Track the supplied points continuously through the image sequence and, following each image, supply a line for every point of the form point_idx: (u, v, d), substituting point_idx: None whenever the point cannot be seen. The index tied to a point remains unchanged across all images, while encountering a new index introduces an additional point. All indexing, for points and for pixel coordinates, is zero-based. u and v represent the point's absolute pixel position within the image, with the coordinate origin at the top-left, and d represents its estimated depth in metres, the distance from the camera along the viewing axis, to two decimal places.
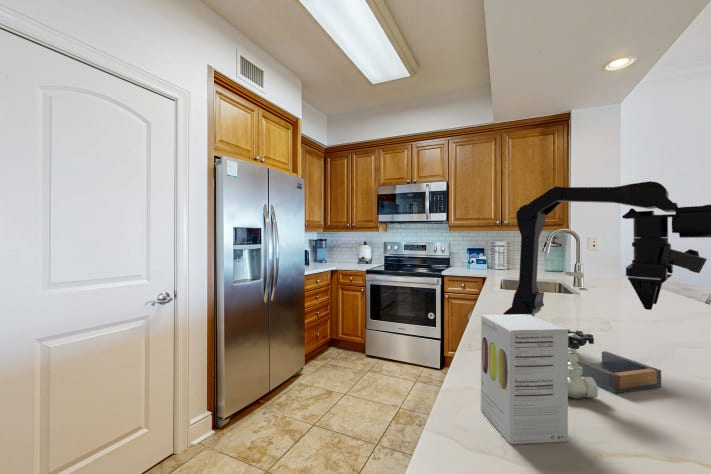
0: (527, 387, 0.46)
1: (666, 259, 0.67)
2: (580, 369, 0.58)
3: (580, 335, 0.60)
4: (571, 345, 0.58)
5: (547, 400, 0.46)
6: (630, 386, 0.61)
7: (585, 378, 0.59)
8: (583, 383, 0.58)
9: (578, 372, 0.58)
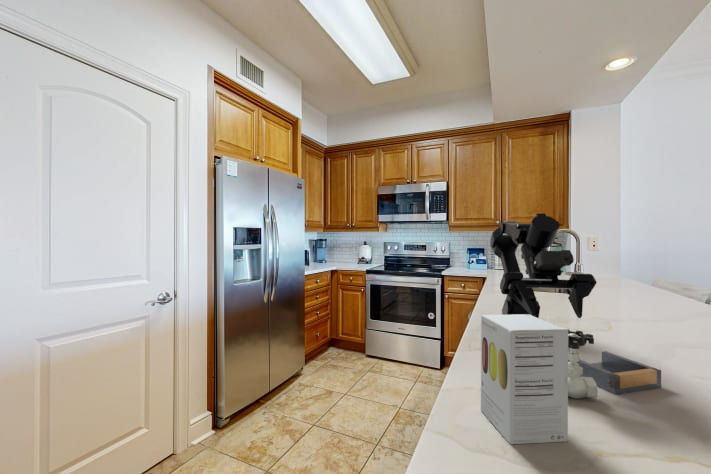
0: (527, 387, 0.46)
1: (532, 267, 0.73)
2: (580, 369, 0.58)
3: (580, 335, 0.60)
4: (571, 345, 0.58)
5: (547, 400, 0.46)
6: (630, 386, 0.61)
7: (585, 378, 0.59)
8: (583, 383, 0.58)
9: (578, 372, 0.58)
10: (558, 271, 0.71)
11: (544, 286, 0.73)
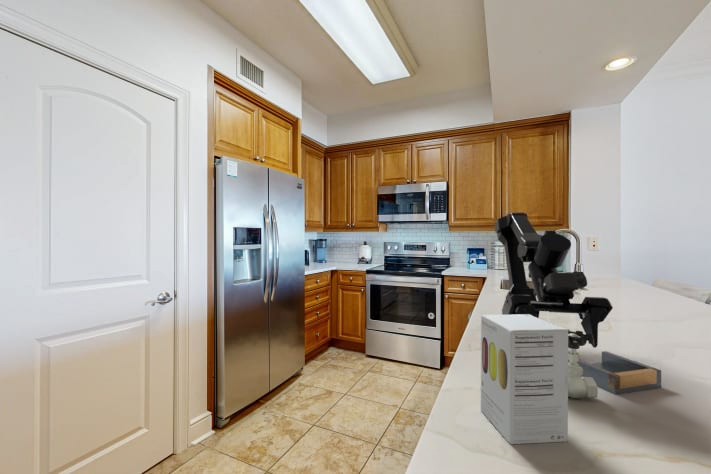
0: (527, 387, 0.46)
1: (541, 290, 0.68)
2: (580, 369, 0.58)
3: (580, 335, 0.60)
4: (571, 345, 0.58)
5: (547, 400, 0.46)
6: (630, 386, 0.61)
7: (585, 378, 0.59)
8: (583, 383, 0.58)
9: (578, 372, 0.58)
10: (570, 294, 0.65)
11: (554, 310, 0.67)
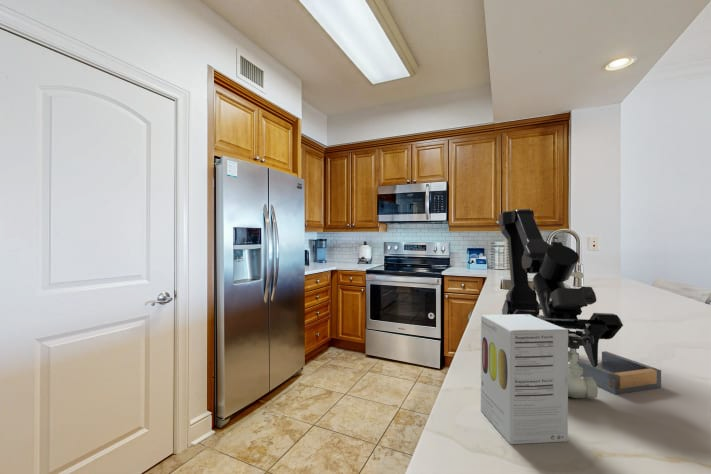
0: (527, 387, 0.46)
1: (547, 305, 0.64)
2: (580, 369, 0.58)
3: (580, 335, 0.60)
4: (571, 345, 0.58)
5: (547, 400, 0.46)
6: (630, 386, 0.61)
7: (585, 378, 0.59)
8: (583, 383, 0.58)
9: (578, 372, 0.58)
10: (578, 310, 0.62)
11: None
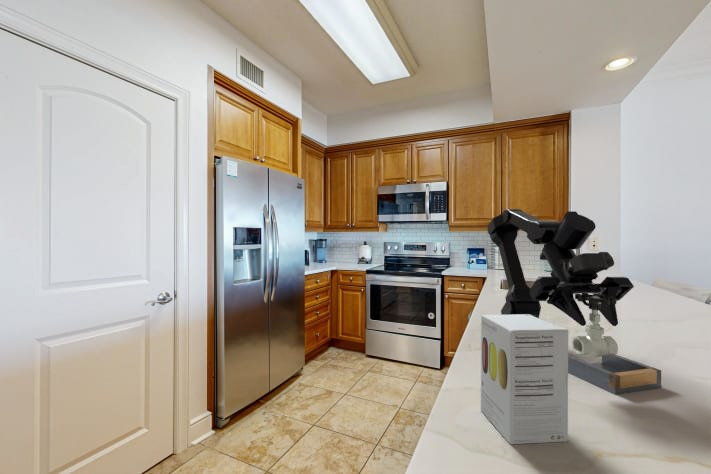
0: (527, 387, 0.46)
1: (566, 271, 0.67)
2: (602, 329, 0.61)
3: (600, 297, 0.63)
4: (596, 306, 0.61)
5: (547, 400, 0.46)
6: (630, 386, 0.61)
7: (605, 337, 0.62)
8: (605, 342, 0.61)
9: (601, 331, 0.61)
10: (594, 275, 0.65)
11: None
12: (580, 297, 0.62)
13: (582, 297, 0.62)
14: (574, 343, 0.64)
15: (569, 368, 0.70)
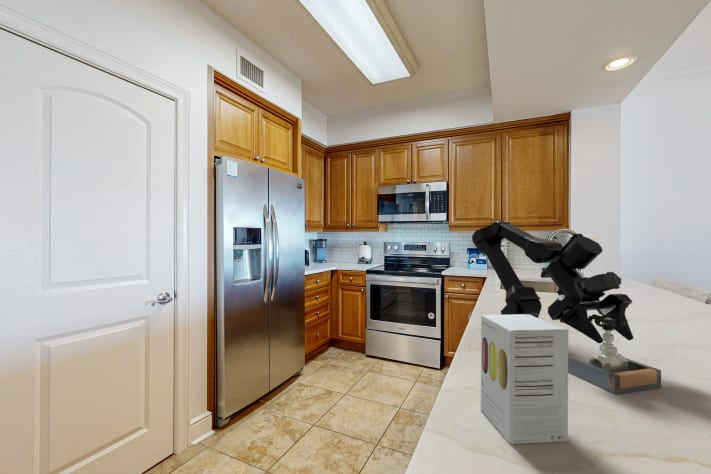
0: (527, 387, 0.46)
1: (579, 290, 0.71)
2: (615, 348, 0.66)
3: None
4: (612, 327, 0.66)
5: (547, 400, 0.46)
6: (630, 386, 0.61)
7: (616, 355, 0.67)
8: (619, 360, 0.66)
9: (616, 350, 0.66)
10: (602, 293, 0.71)
11: (588, 309, 0.71)
12: (598, 319, 0.66)
13: (599, 319, 0.66)
14: (591, 363, 0.68)
15: (569, 368, 0.70)
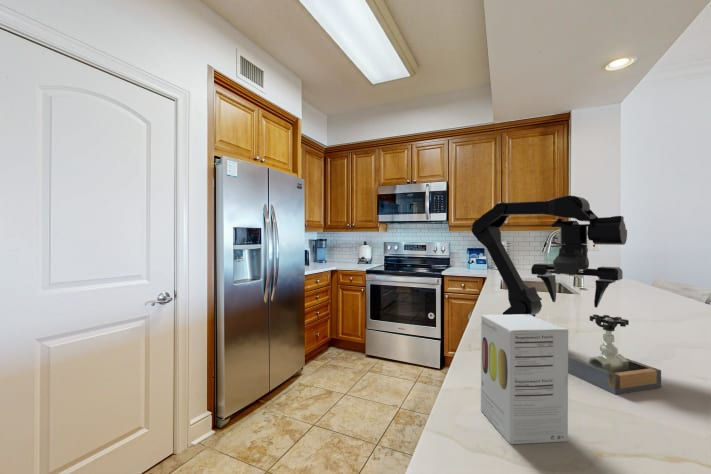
0: (527, 387, 0.46)
1: None
2: (616, 348, 0.66)
3: (611, 318, 0.68)
4: (613, 328, 0.65)
5: (547, 400, 0.46)
6: (630, 386, 0.61)
7: (617, 356, 0.67)
8: (619, 360, 0.66)
9: (616, 351, 0.66)
10: None
11: None
12: (598, 320, 0.66)
13: (600, 320, 0.66)
14: (591, 363, 0.68)
15: (569, 368, 0.70)
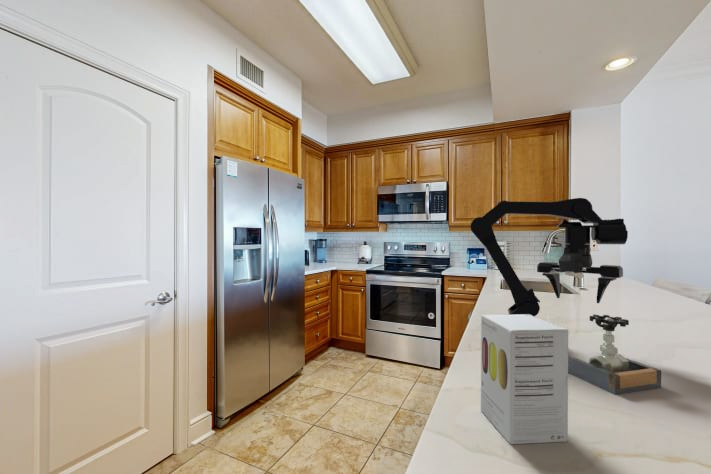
0: (527, 387, 0.46)
1: None
2: (616, 348, 0.66)
3: (611, 318, 0.68)
4: (613, 328, 0.65)
5: (547, 400, 0.46)
6: (630, 386, 0.61)
7: (617, 356, 0.67)
8: (619, 360, 0.66)
9: (616, 351, 0.66)
10: None
11: None
12: (598, 320, 0.66)
13: (600, 320, 0.66)
14: (591, 363, 0.68)
15: (569, 368, 0.70)
